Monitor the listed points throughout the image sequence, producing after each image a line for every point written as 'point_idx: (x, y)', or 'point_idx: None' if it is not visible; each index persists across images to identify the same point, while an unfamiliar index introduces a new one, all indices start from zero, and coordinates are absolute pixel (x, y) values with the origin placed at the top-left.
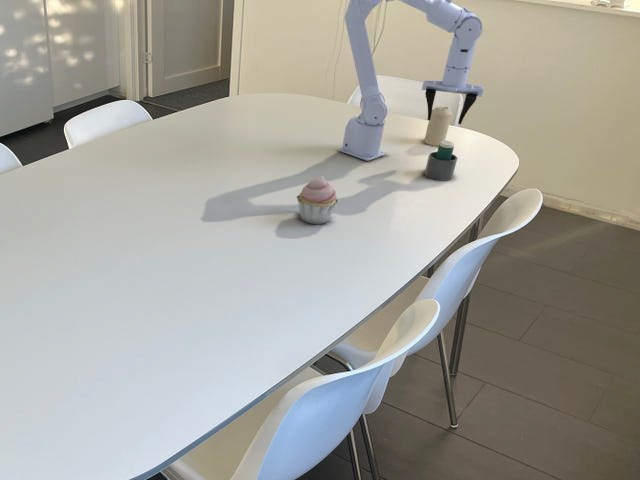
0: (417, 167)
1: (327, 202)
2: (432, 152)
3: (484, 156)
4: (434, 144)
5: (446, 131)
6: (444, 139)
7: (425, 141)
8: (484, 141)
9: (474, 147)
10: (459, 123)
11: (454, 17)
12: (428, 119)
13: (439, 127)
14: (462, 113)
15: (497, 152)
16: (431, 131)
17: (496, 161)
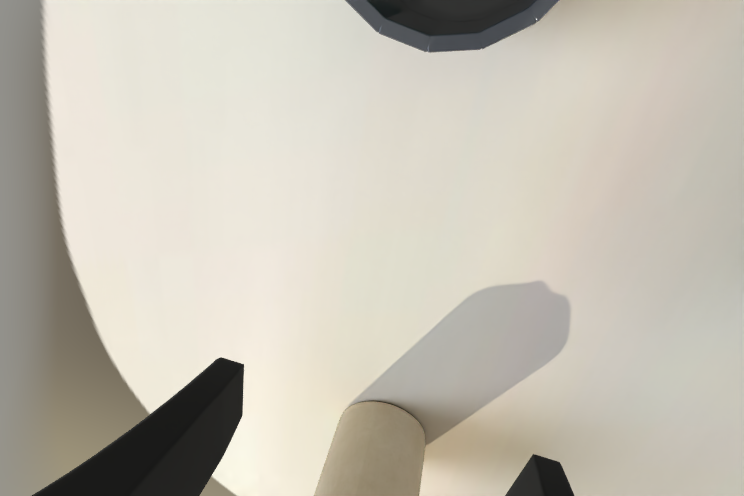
0: (587, 77)
1: None
2: (550, 1)
3: (175, 298)
4: (386, 407)
5: (327, 465)
6: (339, 430)
7: (423, 435)
8: None
9: None
10: (230, 364)
11: None
12: (555, 465)
13: (364, 485)
14: (152, 454)
15: (132, 341)
16: (403, 473)
17: (121, 245)
